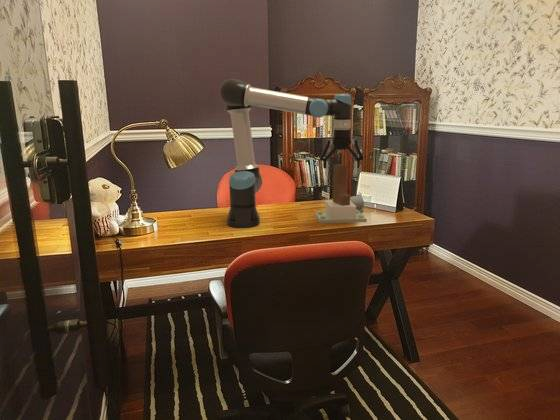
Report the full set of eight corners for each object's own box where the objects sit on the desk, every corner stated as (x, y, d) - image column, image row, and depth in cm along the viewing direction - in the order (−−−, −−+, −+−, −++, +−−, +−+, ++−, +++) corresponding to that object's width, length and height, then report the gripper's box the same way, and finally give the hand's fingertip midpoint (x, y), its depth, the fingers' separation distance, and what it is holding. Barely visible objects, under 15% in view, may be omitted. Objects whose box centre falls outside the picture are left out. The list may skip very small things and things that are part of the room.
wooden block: (350, 204, 208) (351, 166, 203) (341, 205, 206) (342, 167, 202) (340, 200, 216) (341, 164, 211) (332, 201, 214) (333, 164, 210)
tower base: (319, 223, 205) (319, 207, 203) (315, 215, 219) (315, 200, 217) (366, 221, 207) (367, 206, 205) (359, 214, 220) (359, 199, 218)
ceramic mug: (343, 209, 230) (343, 194, 228) (357, 208, 232) (358, 193, 230) (351, 214, 220) (352, 199, 218) (366, 213, 223) (367, 198, 221)
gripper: (316, 130, 198) (315, 177, 203) (371, 129, 200) (369, 176, 205) (313, 128, 205) (313, 174, 210) (367, 128, 207) (365, 173, 212)
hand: (341, 175), depth 208 cm, fingers open, 13 cm apart
